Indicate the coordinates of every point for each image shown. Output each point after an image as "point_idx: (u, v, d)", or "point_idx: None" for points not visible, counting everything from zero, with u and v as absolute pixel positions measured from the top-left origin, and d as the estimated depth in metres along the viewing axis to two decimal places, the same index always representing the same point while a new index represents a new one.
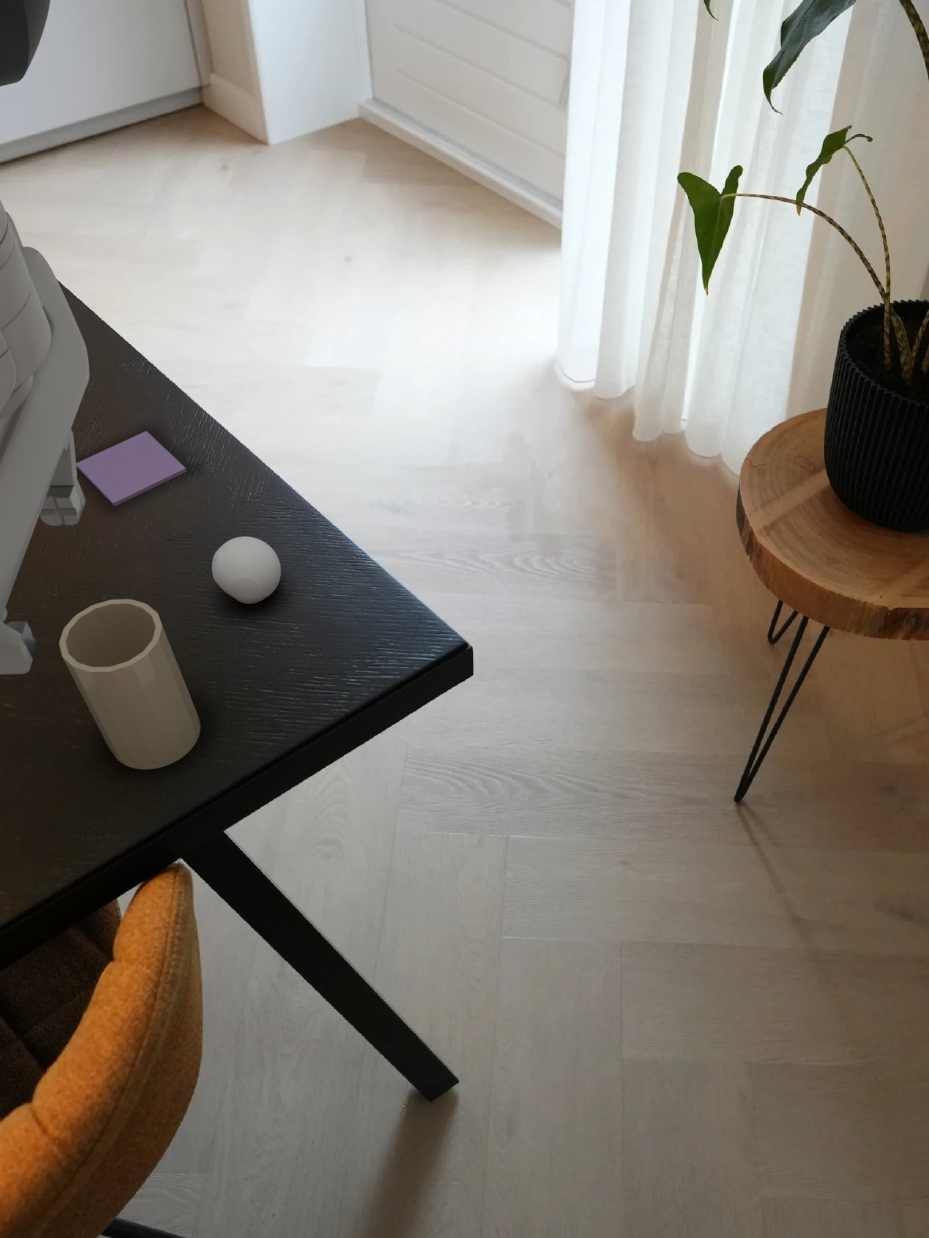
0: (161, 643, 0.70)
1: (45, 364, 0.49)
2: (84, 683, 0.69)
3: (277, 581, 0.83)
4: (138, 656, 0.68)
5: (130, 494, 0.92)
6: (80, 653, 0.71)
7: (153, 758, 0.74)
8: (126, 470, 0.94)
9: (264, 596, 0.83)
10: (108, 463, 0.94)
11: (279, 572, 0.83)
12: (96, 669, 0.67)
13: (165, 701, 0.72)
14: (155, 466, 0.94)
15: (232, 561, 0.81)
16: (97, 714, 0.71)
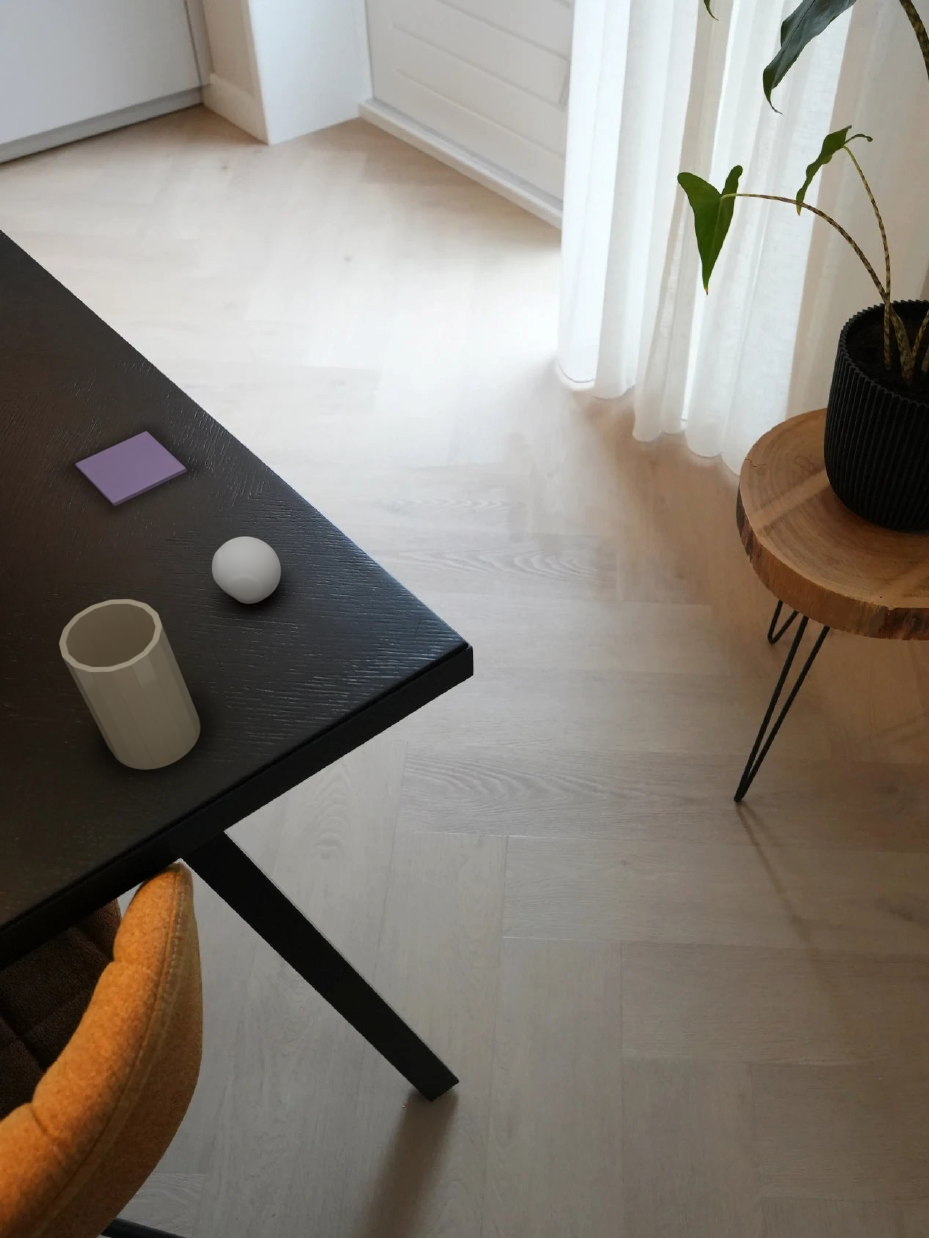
0: (161, 643, 0.70)
1: None
2: (84, 683, 0.69)
3: (277, 581, 0.83)
4: (138, 656, 0.68)
5: (130, 494, 0.92)
6: (80, 653, 0.71)
7: (153, 758, 0.74)
8: (126, 470, 0.94)
9: (264, 596, 0.83)
10: (108, 463, 0.94)
11: (279, 572, 0.83)
12: (96, 669, 0.67)
13: (165, 701, 0.72)
14: (155, 466, 0.94)
15: (232, 561, 0.81)
16: (97, 714, 0.71)
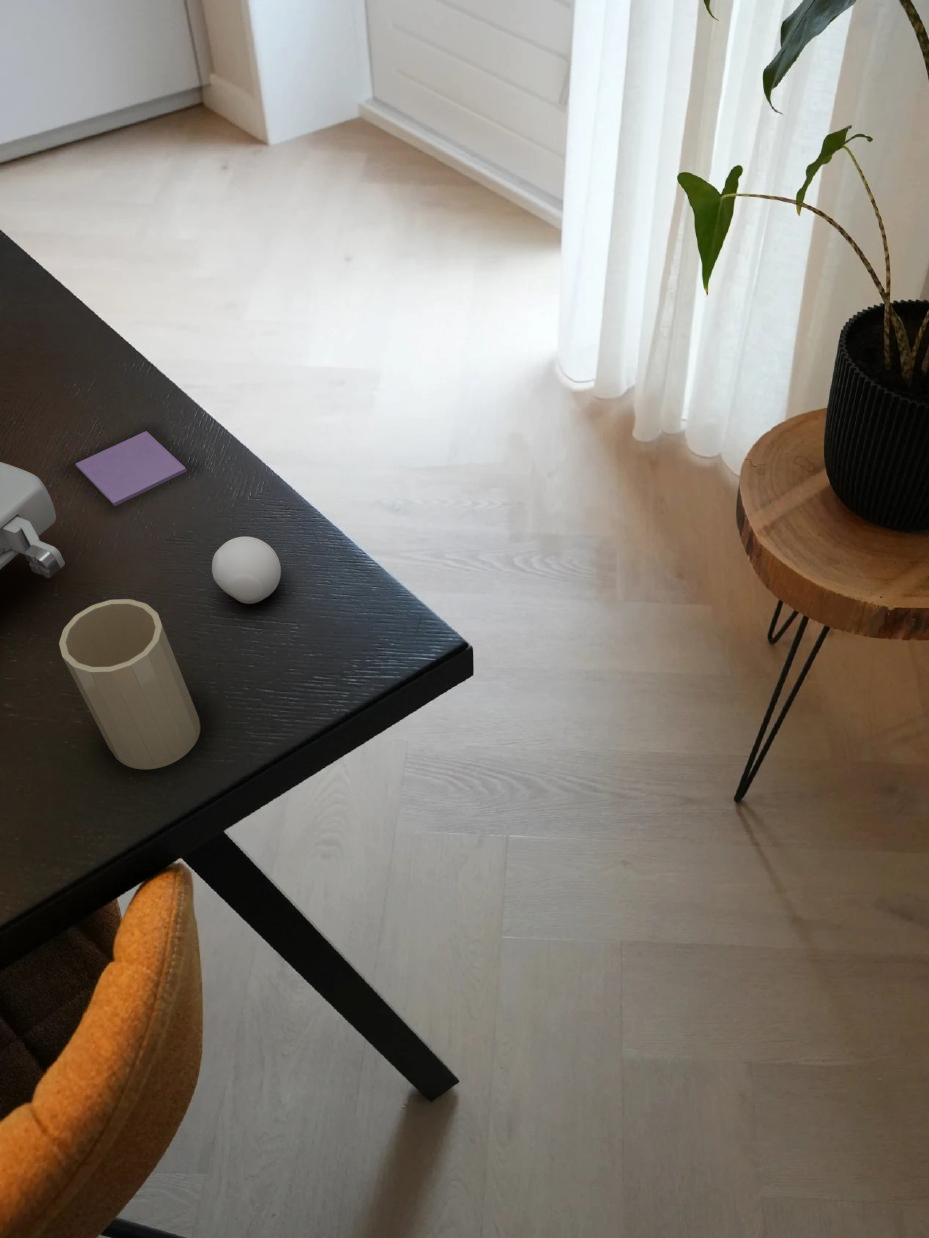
0: (161, 643, 0.70)
1: None
2: (84, 683, 0.69)
3: (277, 581, 0.83)
4: (138, 656, 0.68)
5: (130, 494, 0.92)
6: (80, 653, 0.71)
7: (153, 758, 0.74)
8: (126, 470, 0.94)
9: (264, 596, 0.83)
10: (108, 463, 0.94)
11: (279, 572, 0.83)
12: (96, 669, 0.67)
13: (165, 701, 0.72)
14: (155, 466, 0.94)
15: (232, 561, 0.81)
16: (97, 714, 0.71)
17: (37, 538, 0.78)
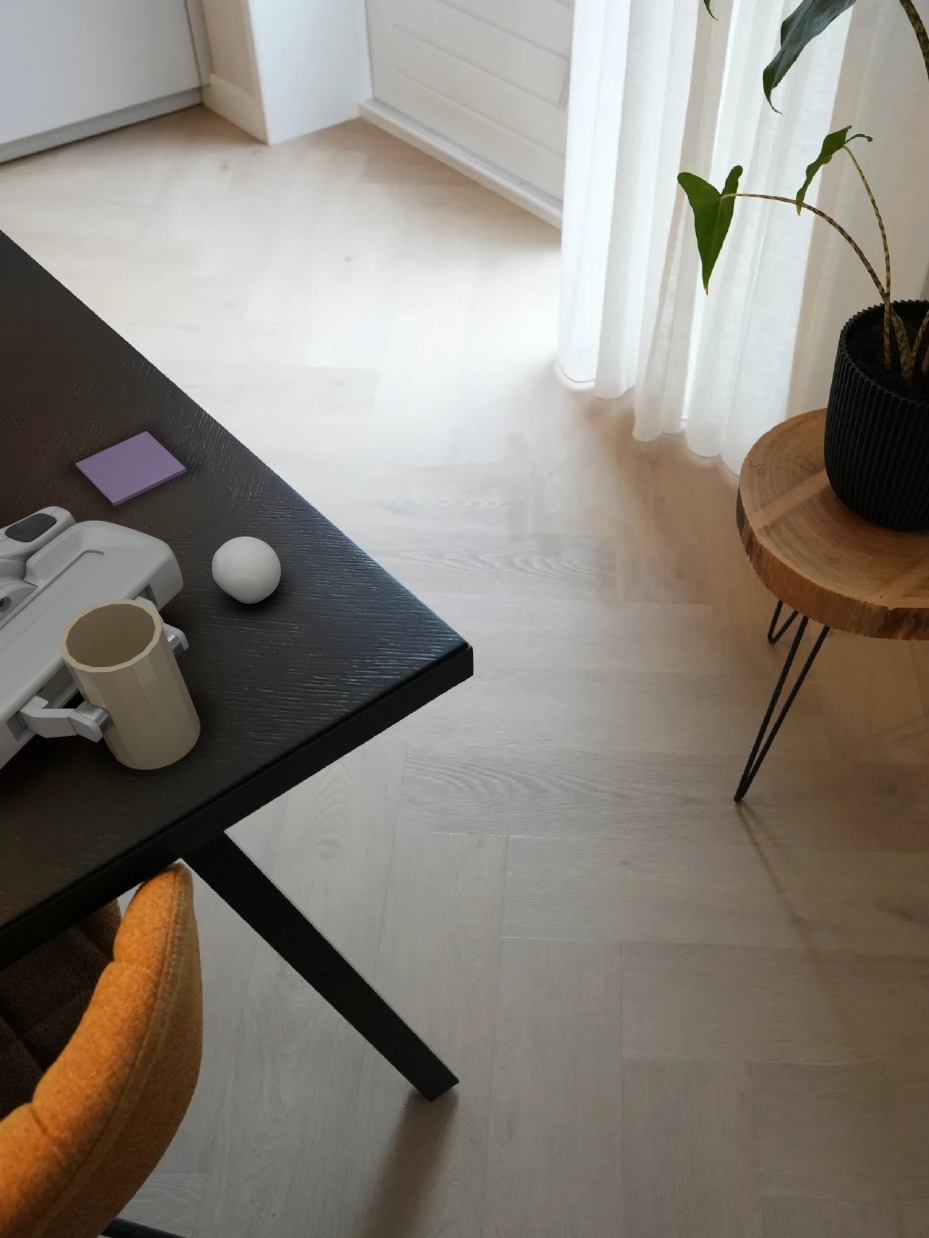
0: (162, 643, 0.70)
1: None
2: (84, 683, 0.69)
3: (277, 581, 0.83)
4: (138, 656, 0.68)
5: (130, 494, 0.92)
6: (80, 653, 0.71)
7: (153, 758, 0.74)
8: (126, 470, 0.94)
9: (264, 596, 0.83)
10: (108, 463, 0.94)
11: (279, 572, 0.83)
12: (96, 670, 0.67)
13: (165, 702, 0.72)
14: (155, 466, 0.94)
15: (232, 561, 0.81)
16: None
17: (161, 620, 0.75)
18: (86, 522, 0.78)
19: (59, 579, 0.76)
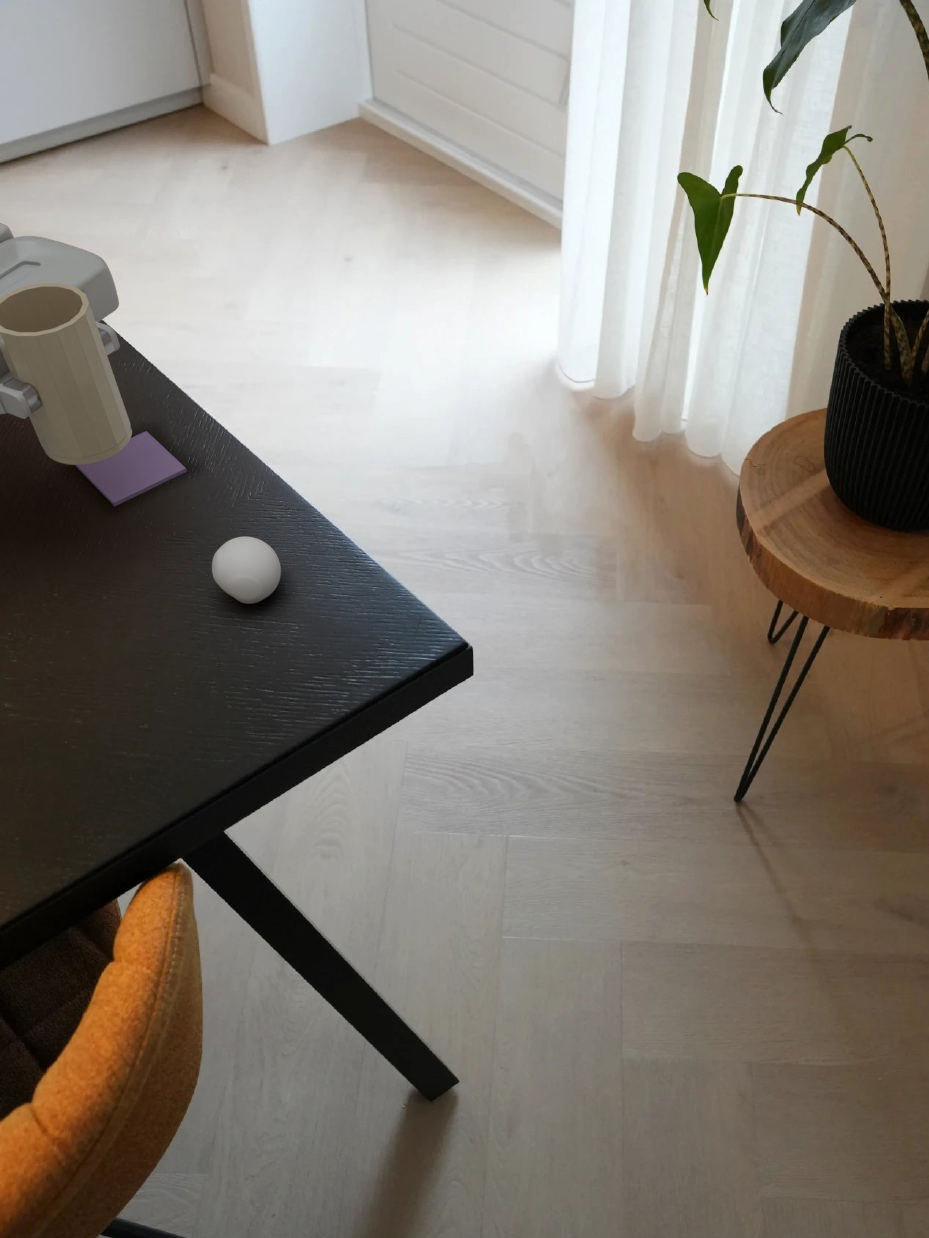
0: (88, 319, 0.72)
1: None
2: (12, 352, 0.71)
3: (277, 581, 0.83)
4: (64, 325, 0.70)
5: (130, 494, 0.92)
6: None
7: (83, 451, 0.76)
8: (126, 470, 0.94)
9: (264, 596, 0.83)
10: (108, 463, 0.94)
11: (279, 572, 0.83)
12: (22, 334, 0.70)
13: (93, 385, 0.74)
14: (155, 466, 0.94)
15: (232, 561, 0.81)
16: None
17: None
18: (24, 236, 0.81)
19: None
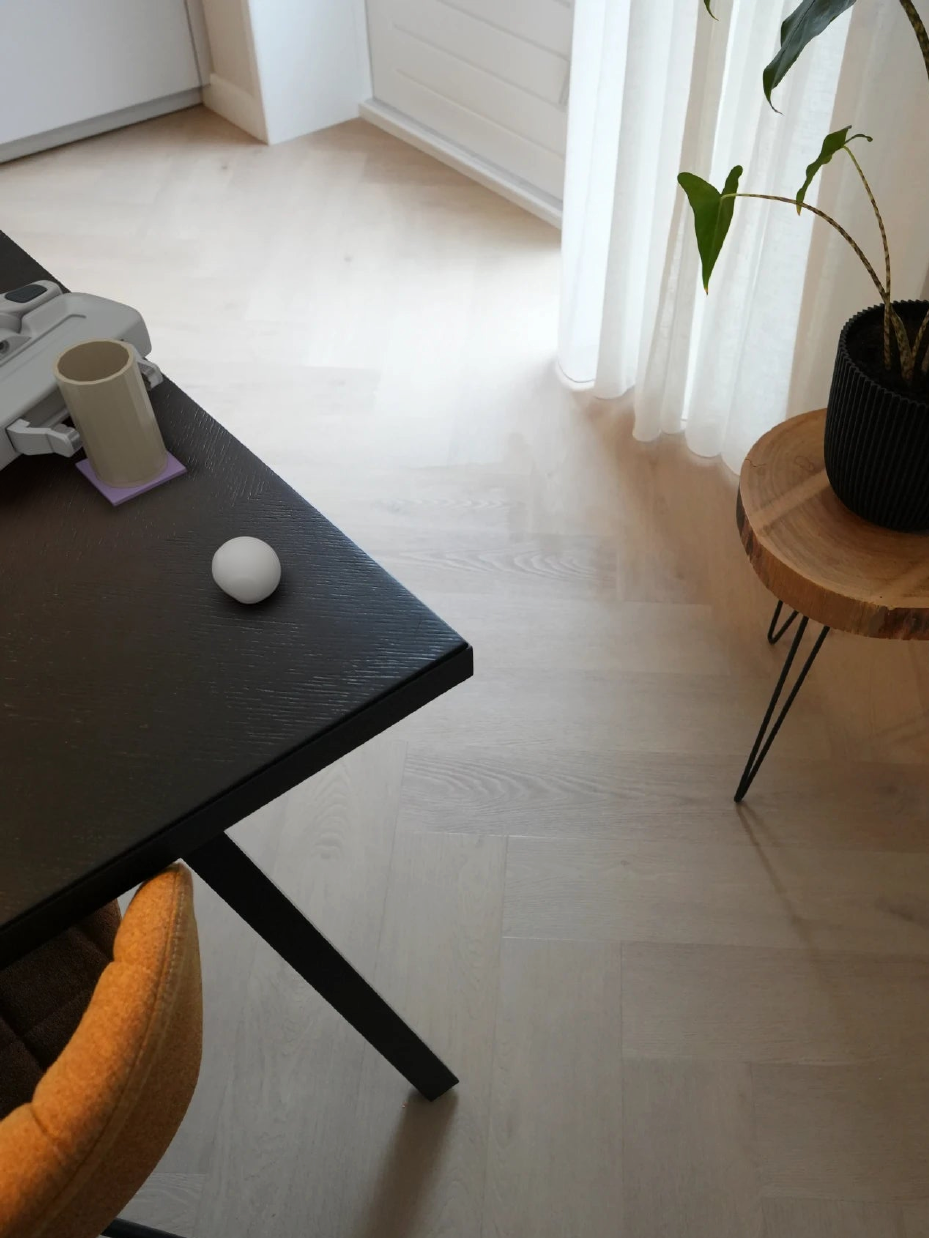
0: (134, 368, 0.87)
1: None
2: (72, 398, 0.86)
3: (277, 581, 0.83)
4: (115, 374, 0.85)
5: (130, 494, 0.92)
6: None
7: (129, 476, 0.91)
8: None
9: (264, 596, 0.83)
10: None
11: (279, 572, 0.83)
12: (81, 383, 0.85)
13: (138, 422, 0.89)
14: None
15: (232, 561, 0.81)
16: (83, 431, 0.88)
17: (140, 357, 0.92)
18: (71, 293, 0.95)
19: (48, 334, 0.93)
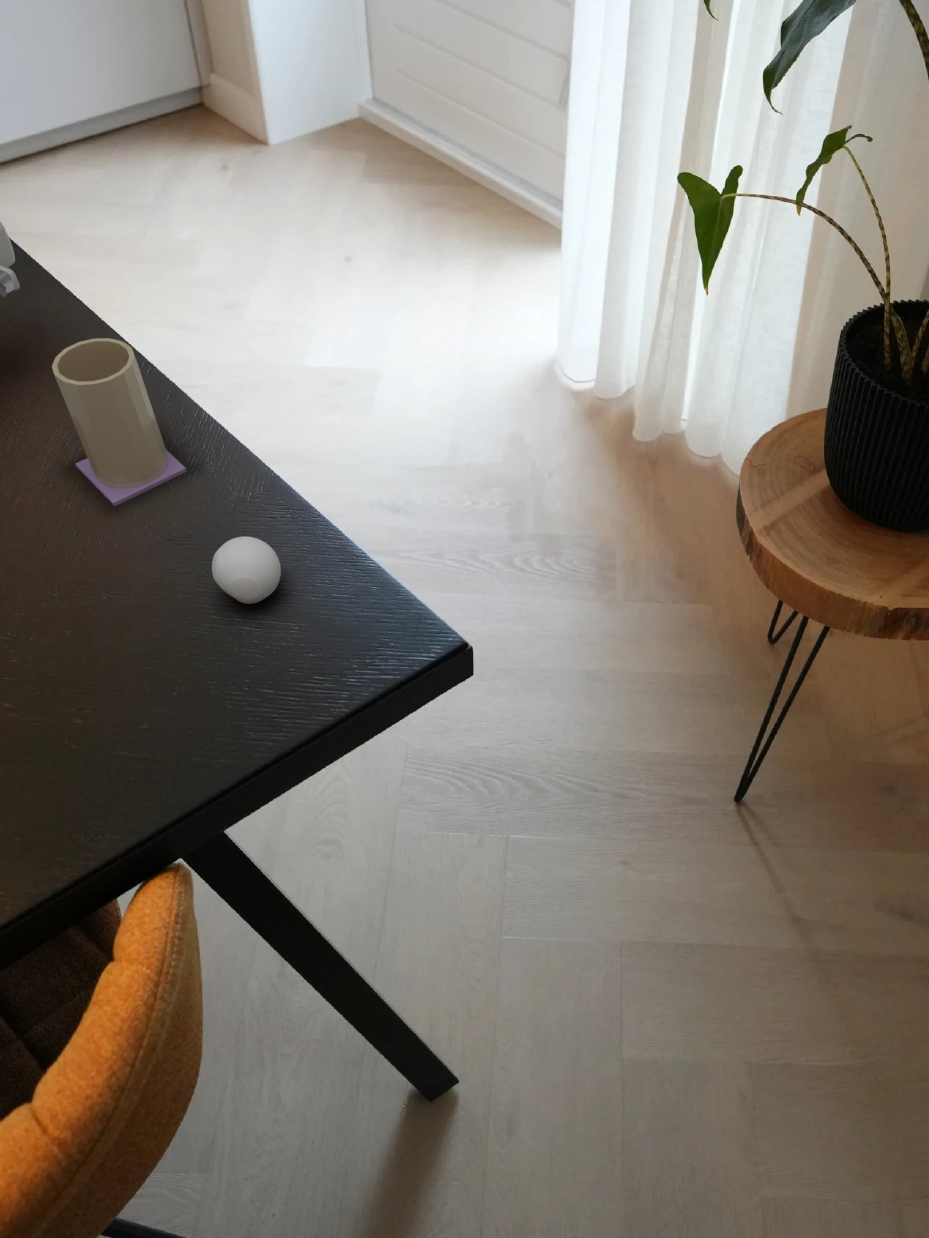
0: (134, 368, 0.87)
1: None
2: (72, 398, 0.86)
3: (277, 581, 0.83)
4: (115, 374, 0.85)
5: (130, 494, 0.92)
6: None
7: (129, 476, 0.91)
8: None
9: (264, 596, 0.83)
10: None
11: (279, 572, 0.83)
12: (81, 383, 0.85)
13: (138, 422, 0.89)
14: None
15: (232, 561, 0.81)
16: (83, 431, 0.88)
17: None
18: None
19: None
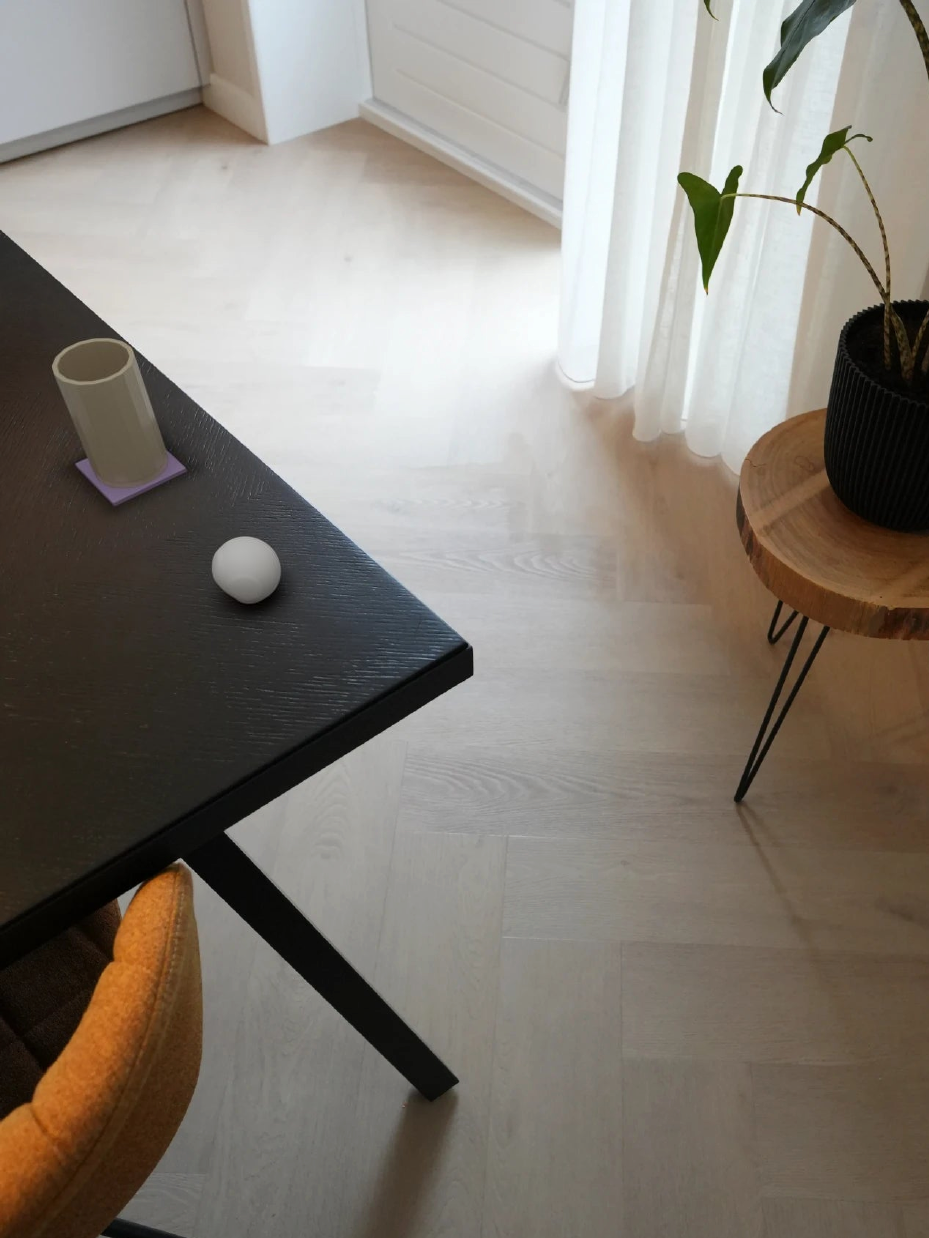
0: (134, 368, 0.87)
1: None
2: (72, 398, 0.86)
3: (277, 581, 0.83)
4: (115, 374, 0.85)
5: (130, 494, 0.92)
6: None
7: (129, 476, 0.91)
8: None
9: (264, 596, 0.83)
10: None
11: (279, 572, 0.83)
12: (81, 383, 0.85)
13: (138, 422, 0.89)
14: None
15: (232, 561, 0.81)
16: (83, 431, 0.88)
17: None
18: None
19: None
